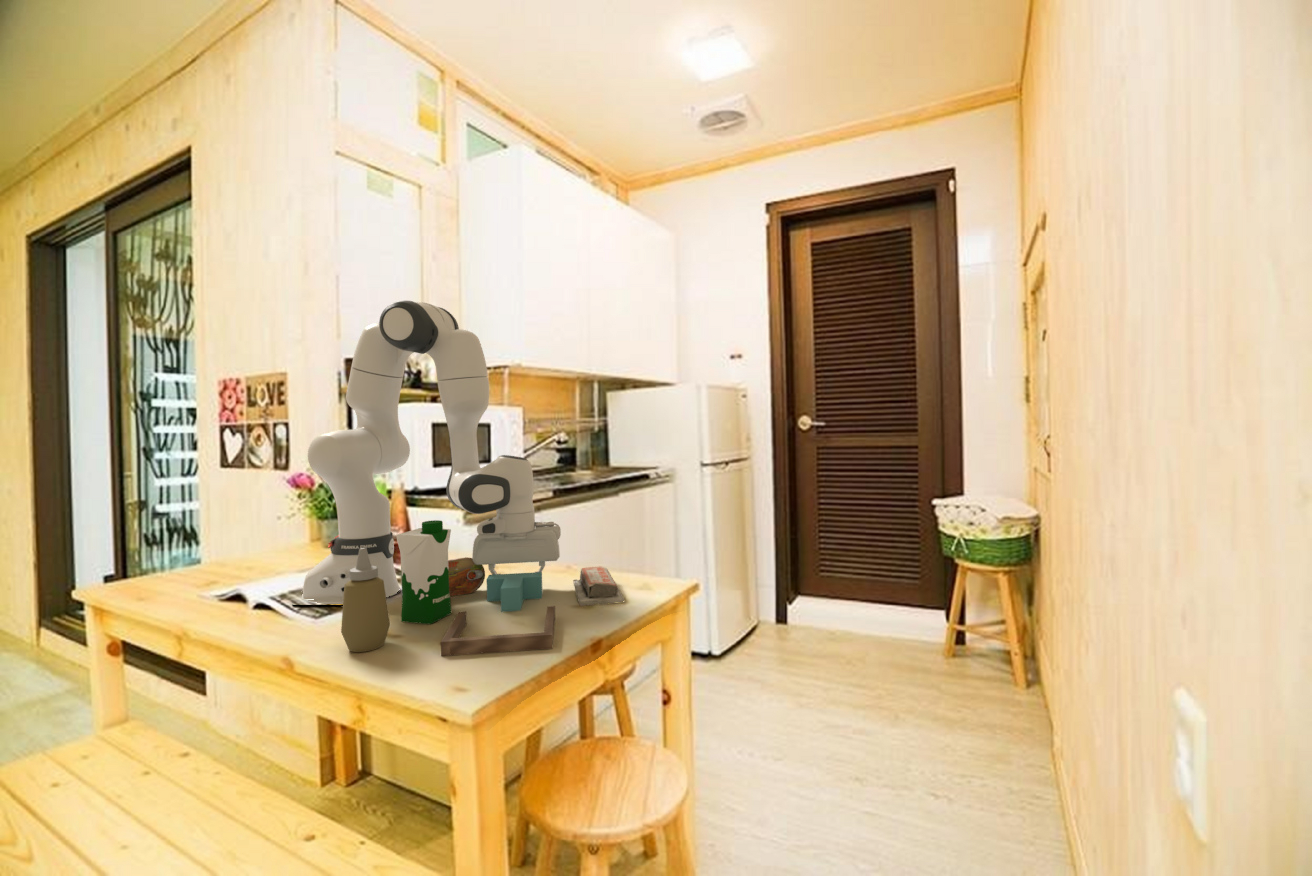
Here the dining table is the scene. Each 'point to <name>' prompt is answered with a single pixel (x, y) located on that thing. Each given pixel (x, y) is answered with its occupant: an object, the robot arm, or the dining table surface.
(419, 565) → the milk carton
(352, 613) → the squeeze bottle
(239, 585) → the dining table surface
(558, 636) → the dining table surface
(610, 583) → the packaged product
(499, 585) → the teal T block
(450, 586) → the tin
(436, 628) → the dining table surface
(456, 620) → the walnut dock
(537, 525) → the robot arm
